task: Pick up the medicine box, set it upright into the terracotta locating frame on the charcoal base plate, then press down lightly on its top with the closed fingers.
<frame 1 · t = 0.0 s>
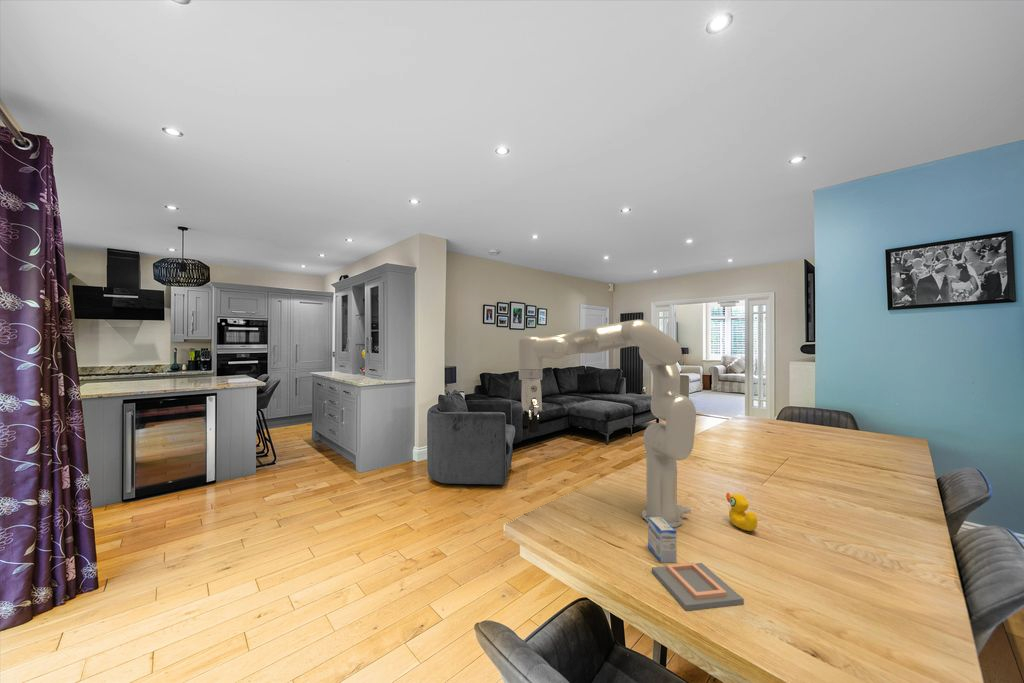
hand: (530, 428, 117), 31 cm above the table, tool pointing down, fingers open, 9 cm apart
medicine box: (661, 555, 101), on the table
base plate: (694, 587, 87), on the table
duckling: (741, 528, 117), on the table
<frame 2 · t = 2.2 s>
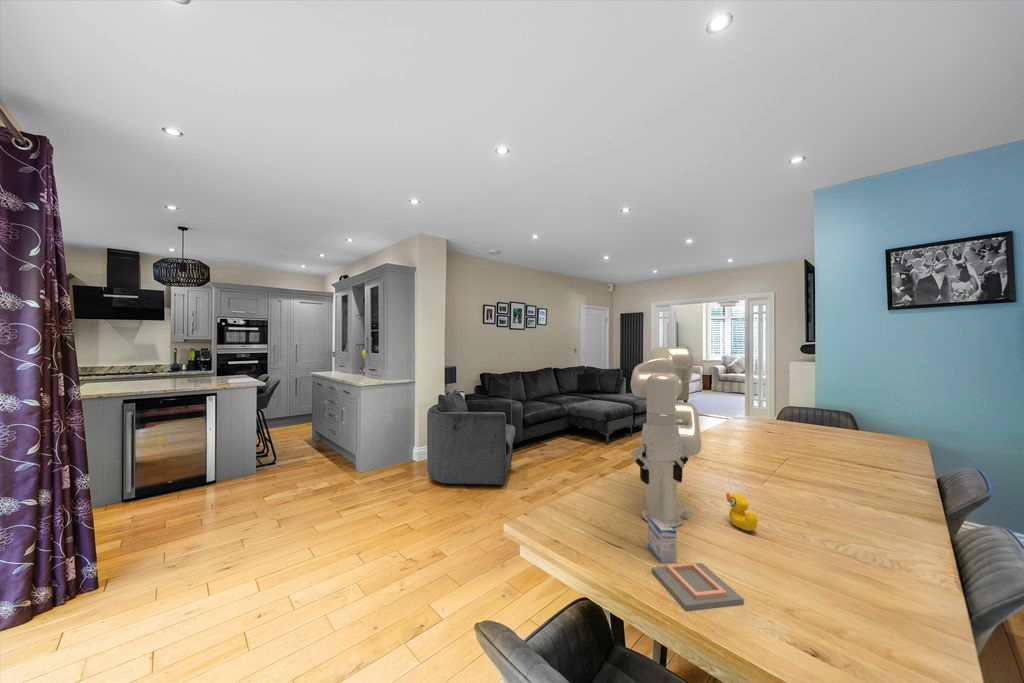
hand: (661, 481, 102), 20 cm above the table, tool pointing down, fingers open, 9 cm apart
nothing on the table moved.
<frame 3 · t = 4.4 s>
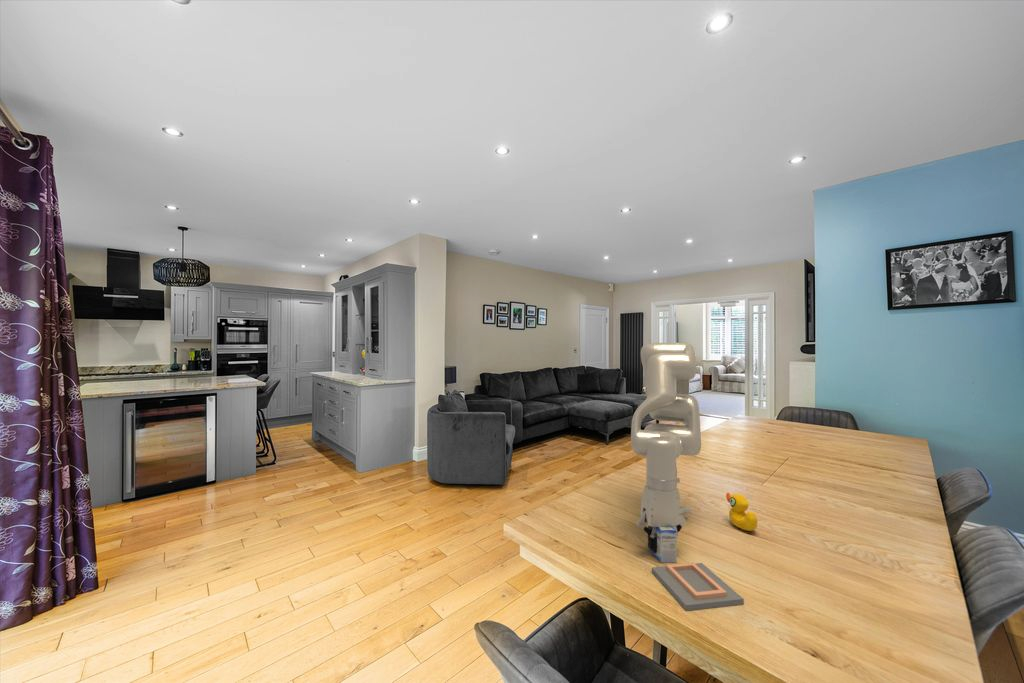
hand: (661, 548, 101), 2 cm above the table, tool pointing down, fingers closed on medicine box, 4 cm apart
medicine box: (661, 555, 101), on the table, touching gripper
everything else where it was.
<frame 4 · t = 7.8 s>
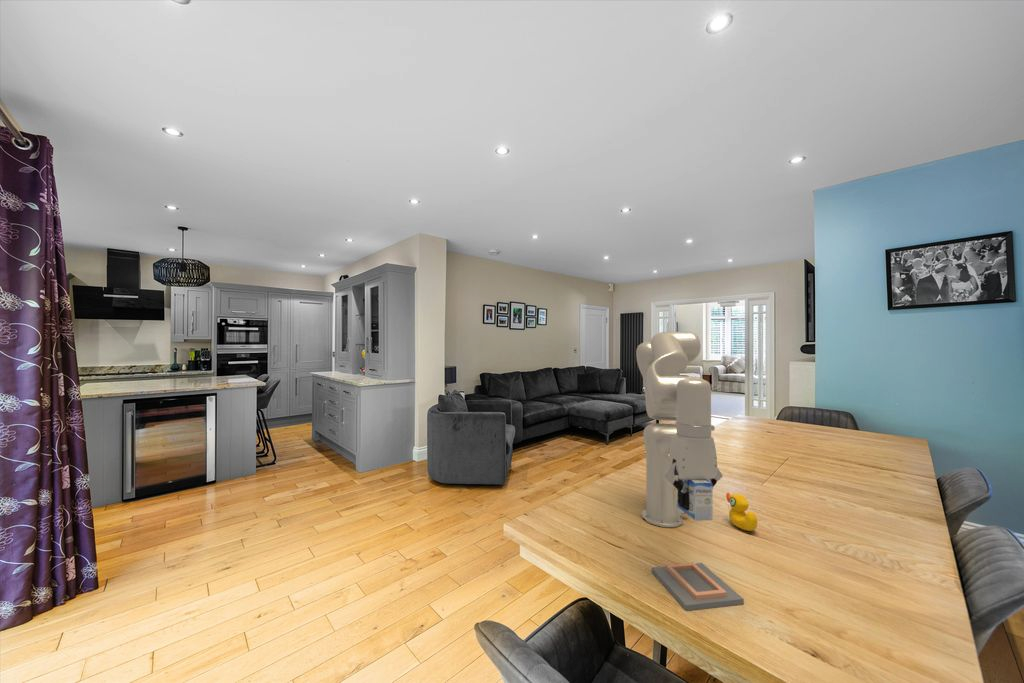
hand: (693, 506, 88), 19 cm above the table, tool pointing down, fingers closed on medicine box, 4 cm apart
medicine box: (694, 514, 88), point 17 cm above the table, touching gripper
everything else where it was.
when the fingers open (4 cm above the table, at t = 11.2 s): medicine box drops 1 cm, resting on base plate.
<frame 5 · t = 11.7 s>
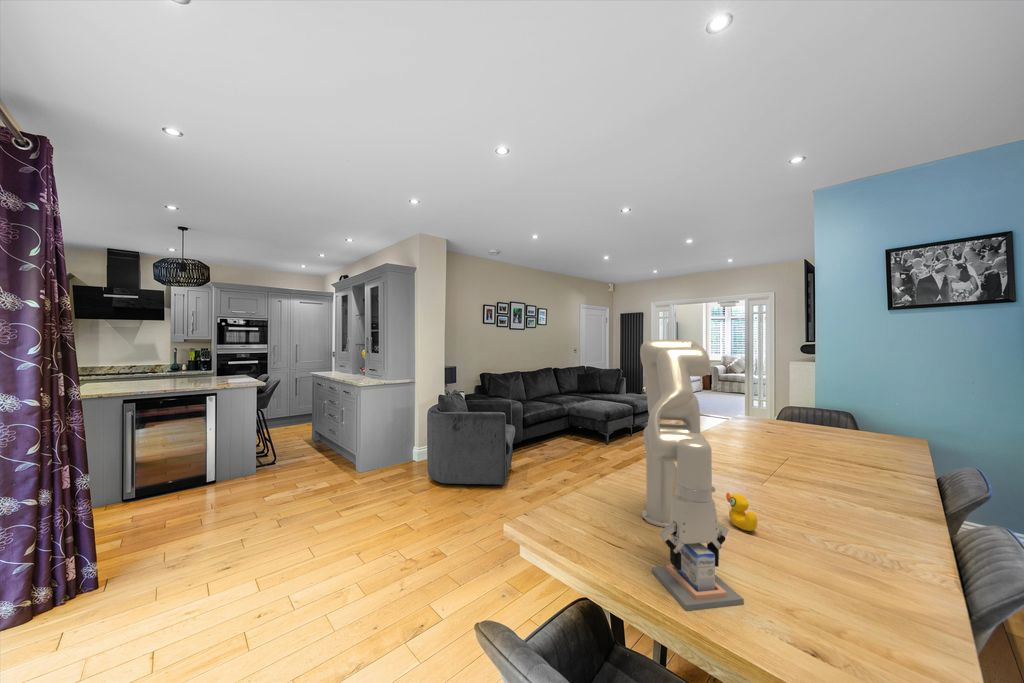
hand: (694, 565, 87), 5 cm above the table, tool pointing down, fingers open, 9 cm apart
medicine box: (695, 582, 87), point 1 cm above the table, touching base plate
everything else where it was.
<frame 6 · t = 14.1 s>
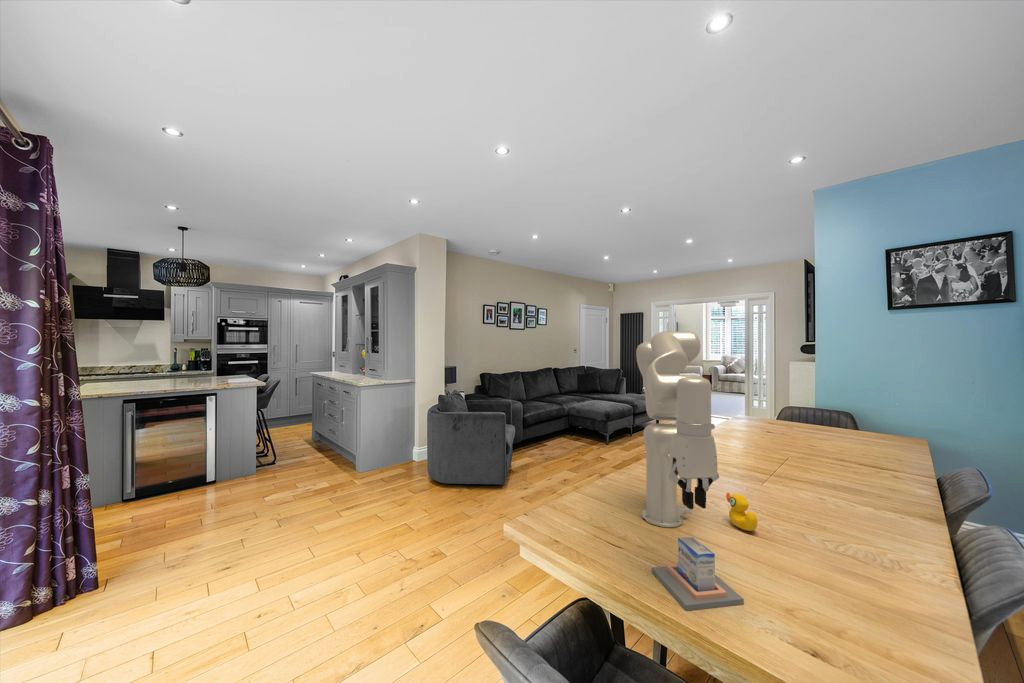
hand: (694, 505, 88), 19 cm above the table, tool pointing down, fingers closed
nothing on the table moved.
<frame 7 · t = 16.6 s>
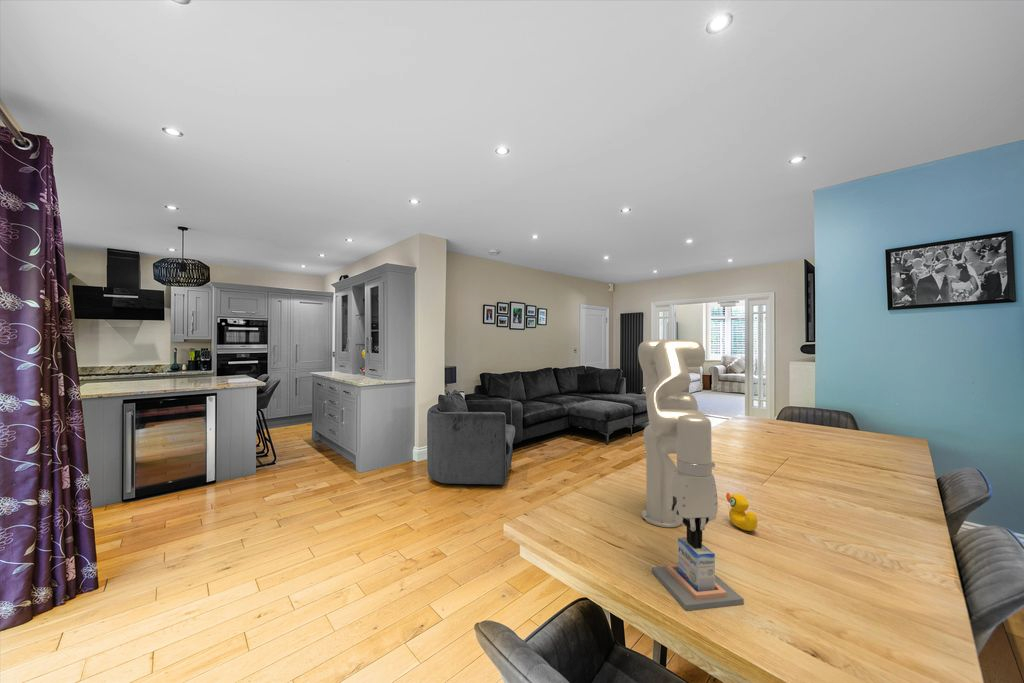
hand: (694, 545, 88), 10 cm above the table, tool pointing down, fingers closed
medicine box: (695, 582, 87), point 1 cm above the table, touching base plate, gripper
everything else where it was.
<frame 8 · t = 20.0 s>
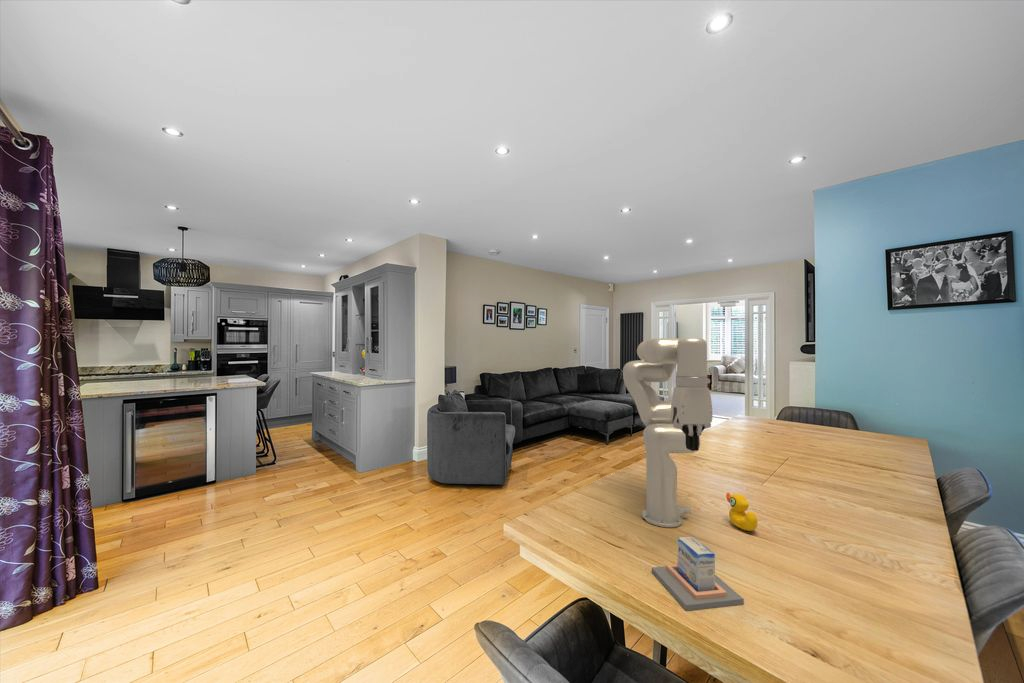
hand: (692, 449, 101), 29 cm above the table, tool pointing down, fingers closed
medicine box: (695, 582, 87), point 1 cm above the table, touching base plate
everything else where it was.
at the end: medicine box 0.3 cm off-centre on the base plate, point 1.0 cm above the base plate's base; medicine box tilted 0°; the gripper is holding nothing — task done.
